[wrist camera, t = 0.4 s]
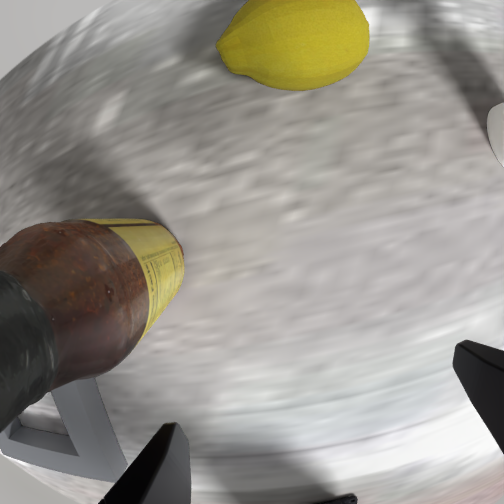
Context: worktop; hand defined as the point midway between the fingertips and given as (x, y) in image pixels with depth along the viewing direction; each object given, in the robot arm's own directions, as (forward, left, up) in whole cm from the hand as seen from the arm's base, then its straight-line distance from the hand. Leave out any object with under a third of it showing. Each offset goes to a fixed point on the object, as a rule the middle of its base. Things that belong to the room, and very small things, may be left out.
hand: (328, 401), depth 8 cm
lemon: (+17, -3, -14) cm, 23 cm away
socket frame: (-8, +24, -14) cm, 29 cm away
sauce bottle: (+3, +9, -14) cm, 17 cm away
